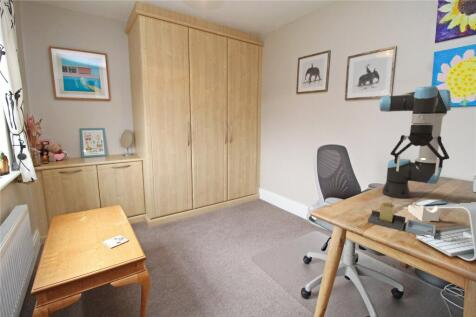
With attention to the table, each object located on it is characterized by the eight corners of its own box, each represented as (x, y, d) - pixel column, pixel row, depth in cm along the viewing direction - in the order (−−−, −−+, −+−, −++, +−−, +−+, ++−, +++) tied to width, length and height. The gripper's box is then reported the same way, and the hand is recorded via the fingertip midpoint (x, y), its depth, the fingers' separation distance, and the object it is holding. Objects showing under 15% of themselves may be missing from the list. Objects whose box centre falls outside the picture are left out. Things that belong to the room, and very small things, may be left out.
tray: (407, 223, 111) (407, 219, 111) (434, 229, 105) (435, 225, 104) (405, 231, 104) (405, 227, 103) (434, 238, 97) (435, 233, 97)
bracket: (438, 222, 112) (440, 208, 111) (421, 221, 114) (423, 207, 112) (422, 212, 125) (424, 198, 123) (407, 211, 126) (409, 198, 125)
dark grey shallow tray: (371, 215, 121) (372, 210, 120) (404, 223, 112) (405, 217, 111) (367, 222, 113) (368, 216, 113) (402, 230, 104) (403, 224, 104)
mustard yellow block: (381, 219, 116) (382, 201, 114) (392, 222, 113) (395, 203, 111) (379, 223, 112) (380, 204, 110) (391, 226, 109) (393, 206, 107)
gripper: (386, 124, 104) (381, 170, 108) (463, 124, 89) (454, 178, 92) (388, 123, 110) (384, 167, 114) (461, 124, 95) (453, 175, 98)
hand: (415, 172), depth 103 cm, fingers open, 13 cm apart
